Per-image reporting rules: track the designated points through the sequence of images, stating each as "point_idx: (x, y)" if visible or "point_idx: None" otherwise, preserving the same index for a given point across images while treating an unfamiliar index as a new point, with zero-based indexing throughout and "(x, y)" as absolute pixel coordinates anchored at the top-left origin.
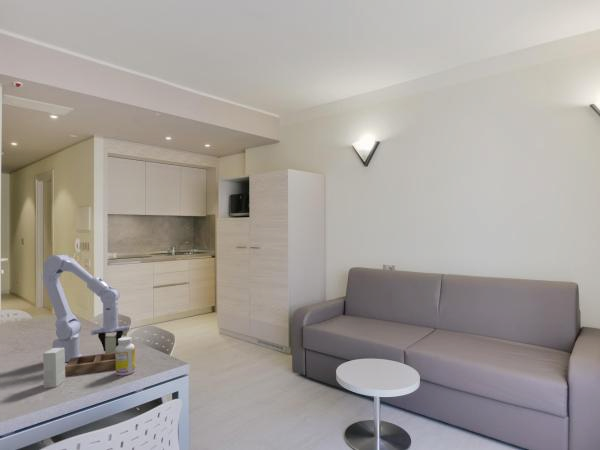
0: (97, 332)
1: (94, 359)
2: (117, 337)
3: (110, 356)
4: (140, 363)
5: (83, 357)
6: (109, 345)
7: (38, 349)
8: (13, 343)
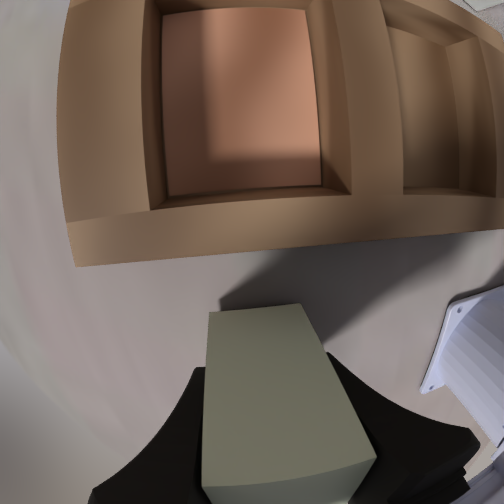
0: (473, 497)
1: (391, 58)
2: (170, 479)
3: (241, 196)
4: (10, 94)
5: (476, 196)
6: (286, 386)
7: (477, 426)
8: (483, 445)
